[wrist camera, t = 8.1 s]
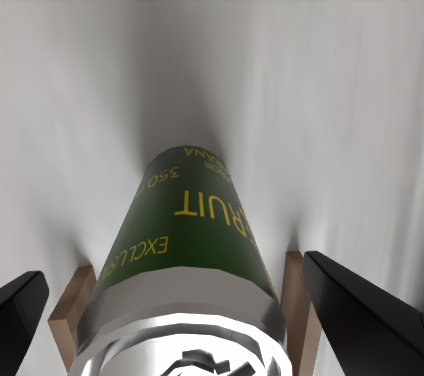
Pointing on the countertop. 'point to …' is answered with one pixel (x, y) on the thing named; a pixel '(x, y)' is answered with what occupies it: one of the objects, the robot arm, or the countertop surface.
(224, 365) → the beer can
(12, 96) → the countertop surface
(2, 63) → the countertop surface
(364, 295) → the robot arm
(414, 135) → the countertop surface
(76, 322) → the wooden u-shaped frame
